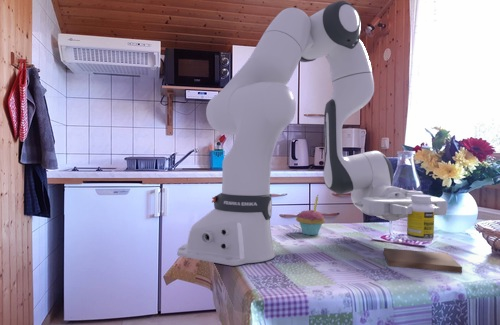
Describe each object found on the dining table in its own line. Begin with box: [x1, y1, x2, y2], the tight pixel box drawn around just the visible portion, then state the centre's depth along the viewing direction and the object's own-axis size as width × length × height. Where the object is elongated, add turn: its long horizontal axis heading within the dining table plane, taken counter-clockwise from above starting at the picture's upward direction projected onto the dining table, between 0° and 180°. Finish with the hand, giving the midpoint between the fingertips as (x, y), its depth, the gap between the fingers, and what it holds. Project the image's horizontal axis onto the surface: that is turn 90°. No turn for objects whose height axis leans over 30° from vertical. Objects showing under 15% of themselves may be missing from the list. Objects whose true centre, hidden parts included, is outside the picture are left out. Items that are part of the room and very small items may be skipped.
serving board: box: [383, 247, 463, 273], centre depth 79 cm, size 14×11×1 cm
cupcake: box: [295, 194, 326, 236], centre depth 107 cm, size 9×8×12 cm
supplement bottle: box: [406, 194, 435, 242], centre depth 79 cm, size 5×5×10 cm
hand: (423, 211), depth 78 cm, fingers closed on supplement bottle, 5 cm apart
